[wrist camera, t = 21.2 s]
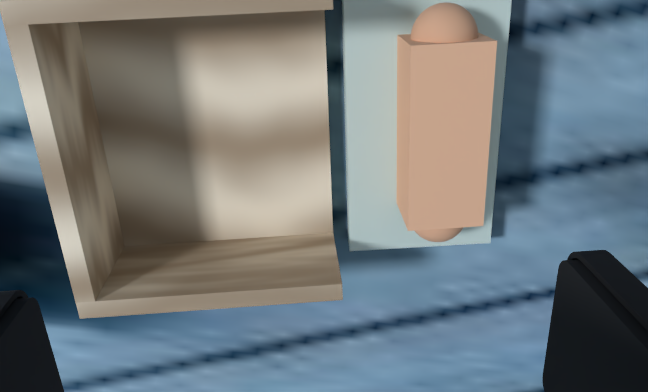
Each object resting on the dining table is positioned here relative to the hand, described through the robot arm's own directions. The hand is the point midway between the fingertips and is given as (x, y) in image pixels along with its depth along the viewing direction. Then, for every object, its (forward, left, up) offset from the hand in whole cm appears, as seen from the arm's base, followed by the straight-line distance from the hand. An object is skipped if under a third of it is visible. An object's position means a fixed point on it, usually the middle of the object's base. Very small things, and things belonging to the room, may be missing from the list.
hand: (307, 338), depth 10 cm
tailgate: (+3, +3, -24) cm, 24 cm away
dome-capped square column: (+3, +8, -23) cm, 24 cm away
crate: (+3, -5, -24) cm, 25 cm away
